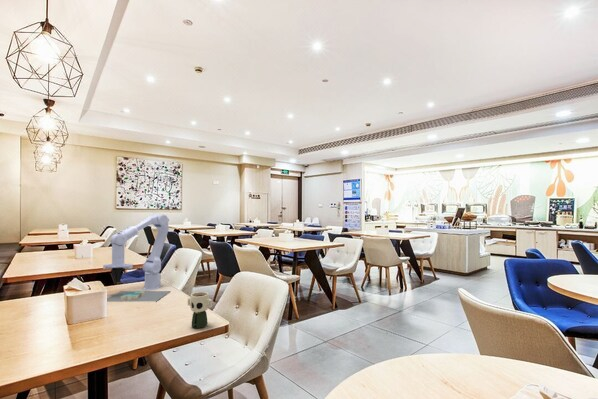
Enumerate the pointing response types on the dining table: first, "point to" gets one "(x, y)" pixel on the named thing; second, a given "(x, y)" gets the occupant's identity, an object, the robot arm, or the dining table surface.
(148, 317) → the dining table surface
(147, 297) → the rubber mat
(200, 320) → the character mug
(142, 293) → the birch tile
